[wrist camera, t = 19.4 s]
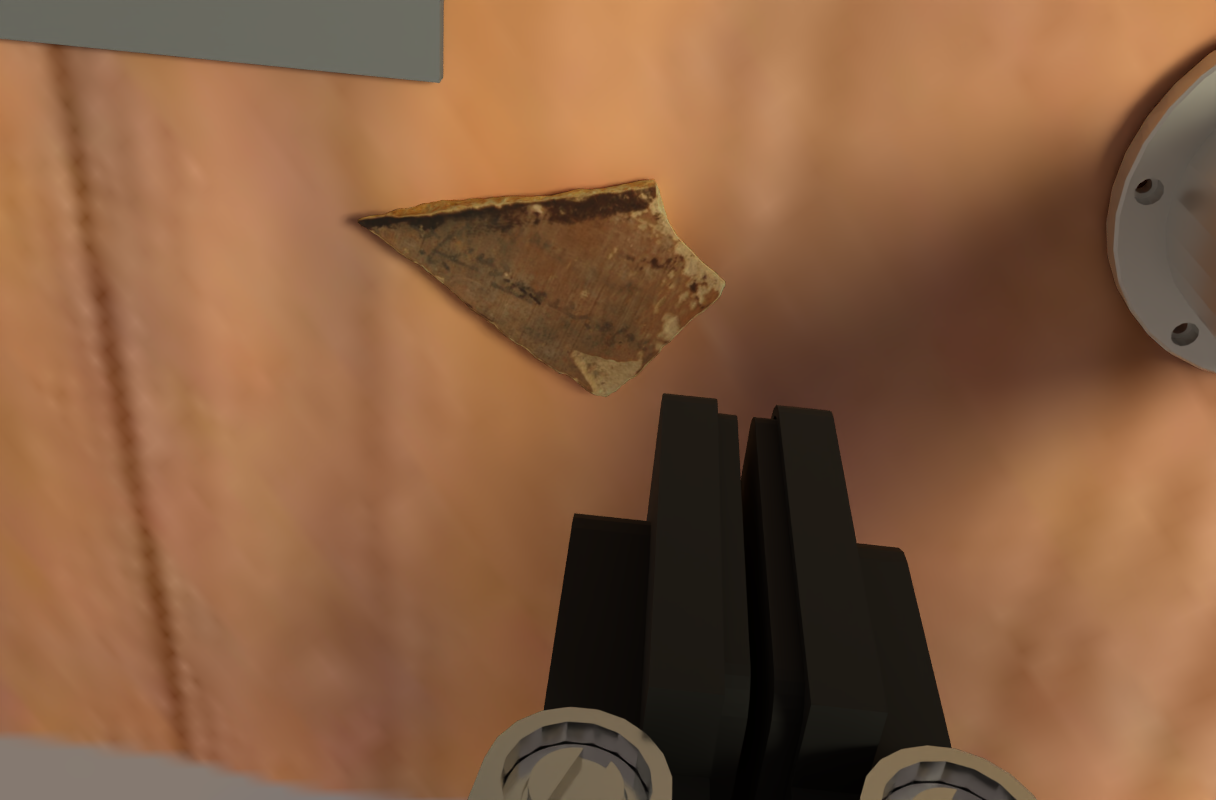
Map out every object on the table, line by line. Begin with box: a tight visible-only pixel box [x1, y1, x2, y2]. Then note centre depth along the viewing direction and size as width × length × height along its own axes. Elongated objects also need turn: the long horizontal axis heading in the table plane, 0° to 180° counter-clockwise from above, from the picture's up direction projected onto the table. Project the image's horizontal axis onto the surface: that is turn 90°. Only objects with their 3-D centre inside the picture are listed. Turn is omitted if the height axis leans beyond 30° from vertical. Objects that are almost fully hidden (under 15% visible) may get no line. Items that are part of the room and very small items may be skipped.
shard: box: [358, 179, 725, 397], centre depth 39 cm, size 11×8×2 cm
